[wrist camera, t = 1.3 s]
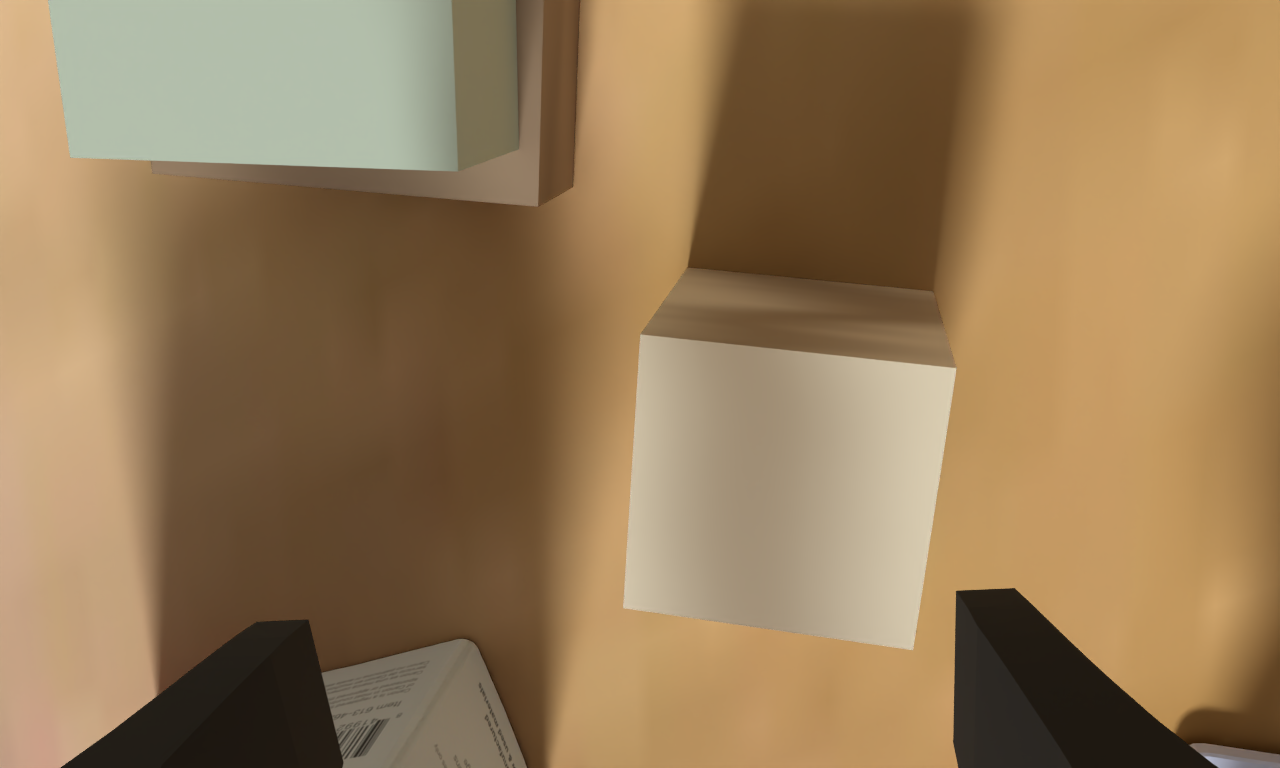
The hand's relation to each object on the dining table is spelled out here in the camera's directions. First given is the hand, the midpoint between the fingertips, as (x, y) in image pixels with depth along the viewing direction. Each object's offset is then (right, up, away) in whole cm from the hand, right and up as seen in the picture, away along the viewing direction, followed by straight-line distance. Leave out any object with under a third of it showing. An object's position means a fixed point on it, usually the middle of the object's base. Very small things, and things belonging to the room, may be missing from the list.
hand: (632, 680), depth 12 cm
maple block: (+3, +3, +9) cm, 10 cm away
